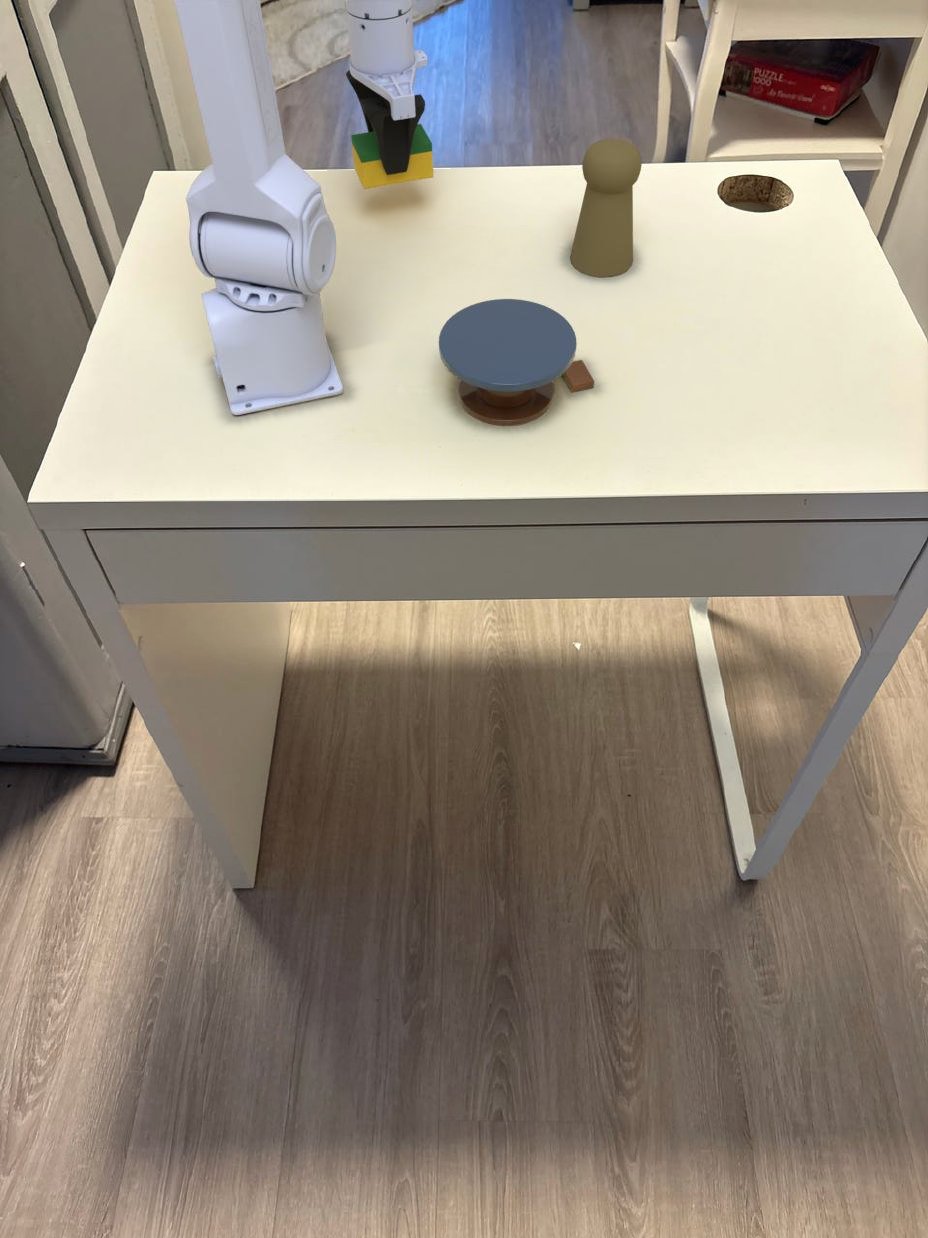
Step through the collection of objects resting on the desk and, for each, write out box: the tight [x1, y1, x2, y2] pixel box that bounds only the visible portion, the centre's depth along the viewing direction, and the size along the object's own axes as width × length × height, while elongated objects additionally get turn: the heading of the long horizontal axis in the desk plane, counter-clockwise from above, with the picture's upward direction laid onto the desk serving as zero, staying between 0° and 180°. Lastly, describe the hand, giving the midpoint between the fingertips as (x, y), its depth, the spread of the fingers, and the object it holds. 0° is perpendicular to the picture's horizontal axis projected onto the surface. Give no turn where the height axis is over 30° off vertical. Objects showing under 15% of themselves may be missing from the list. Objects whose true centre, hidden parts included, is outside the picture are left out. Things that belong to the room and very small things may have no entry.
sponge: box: [350, 123, 434, 190], centre depth 95 cm, size 7×4×3 cm, turn 107°
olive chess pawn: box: [569, 137, 643, 278], centre depth 90 cm, size 6×6×11 cm
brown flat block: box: [561, 359, 595, 394], centre depth 84 cm, size 2×3×1 cm, turn 16°
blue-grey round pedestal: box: [438, 298, 578, 427], centre depth 81 cm, size 11×11×6 cm
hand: (390, 160), depth 96 cm, fingers closed on sponge, 4 cm apart
